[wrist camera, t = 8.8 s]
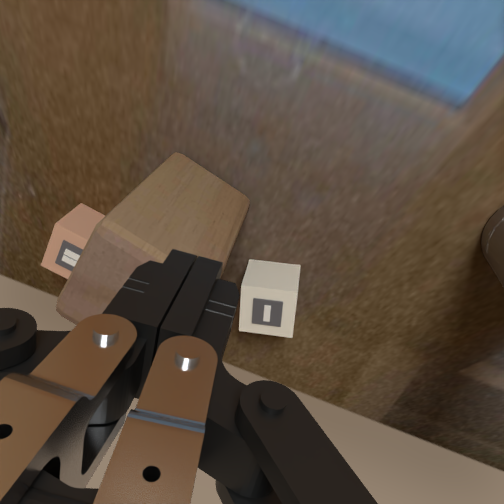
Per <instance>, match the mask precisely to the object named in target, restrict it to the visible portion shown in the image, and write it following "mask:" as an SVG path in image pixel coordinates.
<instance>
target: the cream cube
mask: <svg viewBox="0 0 504 504" xmlns="http://www.w3.org/2000/svg"><path fill="white" fill-rule="evenodd" d="M300 267H301V265H294V264H286V263H277V262H269V261H260V260H252V259H249V262H248V266H247V269H246V272H245V275H244V278H243V281H242V285H241V300H240V319H239V331H244V332H251V333H259V334H266V335H274V336H281V337H289V338H292V336H293V328H294V319H295V311H296V303H297V294H298V285H299V276H300Z"/></svg>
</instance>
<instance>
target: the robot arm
mask: <svg viewBox="0 0 504 504" xmlns="http://www.w3.org/2000/svg"><path fill="white" fill-rule="evenodd" d="M481 246H482V251H483V254H484V256H485V258H486V260H487V261H488V263H489V265H490V266H491V268H492V269H493V271H494V273H495V274H496V276H497V278H498V279H499V281H500V282H501V284H502V286H503V287H504V206H503V207H502V208H500V209H499V210H497V211H496V213H495V214H494V215H493V216H492V217H491V218H490V219H489V221H488V222H487V224H486V225H485V228H484V230H483V233H482V239H481ZM222 267H223V262H220V261H216V260H212V259H209V258H205V257H201V256H198V258H197V255H194V254H190V253H187V252H183V251H179V250H176V249H172V250H171V252H170V253H169V255H168V256H167V258H166V259H165V261H164V262H163V264H162V263H159V262H155V261H151V260H150V261H148V262H146V263H144V264H142V265H140V266H138V267H136V269H135V270H134V271H133V273H132V274H131V275H130V277H129V279H127V281H126V282H125V283H124V285H123V287H121V289H120V290H119V291H118V293H117V294H116V295H115V297H114V298H113V299H112V301H111V302H110V303H109V305H108V306H107V307H106V309H105V310H104V311H103V313H102V314H98V315H93V316H89V317H87V318H85V319H83V320H82V321H80V322H79V323H78V324H77V325H76V326H75V327H74V329H72V330H71V331H42V330H37V324H36V321H35V319H34V318H33V317H32V316H31V315H30V314H29V313H27V312H25V311H22V310H18V309H13V308H0V504H190V503H191V498H192V493H193V488H194V483H195V478H196V473H197V468H199V469H201V470H202V471H204V472H205V473H207V474H208V475H210V476H211V477H213V478H214V479H216V490H217V492H218V495H219V497H220V499H221V501H222V503H223V504H377V502H376V501H375V499H374V498H373V497H372V495H371V494H370V493H369V491H368V490H367V489H366V487H365V486H364V485H363V483H362V482H361V481H360V479H359V478H358V477H357V475H356V474H355V473H354V471H353V470H352V469H351V468H350V466H349V465H348V463H347V462H346V461H345V459H344V458H343V457H342V455H341V454H340V453H339V451H338V450H337V449H336V447H335V446H334V445H333V443H332V442H331V441H330V439H329V438H328V437H327V435H326V434H325V433H324V431H323V430H322V429H321V427H320V426H319V425H318V423H317V422H316V421H315V419H314V418H313V417H312V415H311V414H310V413H309V411H308V410H307V409H306V407H305V406H304V405H303V403H302V402H301V401H300V399H299V398H298V397H297V396H296V394H295V393H294V392H293V391H291V390H290V389H289V388H287V387H286V386H284V385H282V384H280V383H277V382H273V381H266V380H263V381H256V382H253V383H251V384H249V385H245V384H243V383H241V382H239V381H238V380H237V379H235V378H234V377H233V376H231V375H230V374H229V373H228V371H227V370H226V369H225V367H224V365H223V363H222V358H223V354H224V351H225V348H226V345H227V341H228V338H229V335H230V331H231V327H232V323H233V319H234V315H235V311H236V308H237V304H238V300H239V296H240V295H239V292H238V289H237V286H236V283H232V282H228V281H225V280H221V279H220V276H221V272H222ZM134 398H138V399H139V400H138V403H137V405H136V408H135V410H132V409H131V410H130V412H129V414H128V416H127V418H126V412H127V410H128V409H129V407H130V405H131V403H132V401H133V399H134ZM125 418H126V421H125ZM124 421H125V423H124ZM123 424H124V426H123ZM122 426H123V428H122V431H121V433H120V436H119V438H118V441H117V444H116V446H115V449H114V451H113V454H112V456H111V459H110V461H109V464H108V466H107V469H106V472H105V475H104V477H103V480H102V482H101V484H100V487H99V489H90V488H85V487H86V485H87V484H88V482H89V480H90V479H91V477H92V475H93V474H94V472H95V470H96V469H97V467H98V465H99V464H100V462H101V460H102V459H103V457H104V455H105V454H106V452H107V450H108V449H109V447H110V446H111V444H112V442H113V441H114V439H115V437H116V436H117V434H118V432H119V431H120V429H121V427H122Z"/></svg>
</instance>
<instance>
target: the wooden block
mask: <svg viewBox="0 0 504 504" xmlns="http://www.w3.org/2000/svg"><path fill="white" fill-rule="evenodd" d="M249 204H250V201H249V199H248V198H247V197H246V196H245V195H244V194H242V193H241V192H239V191H238V190H236V189H235V188H233V187H232V186H230V185H229V184H227V183H226V182H224V181H223V180H221V179H220V178H218V177H216V176H215V175H213V174H212V173H210V172H209V171H207V170H206V169H204V168H203V167H201V166H200V165H198V164H197V163H195V162H194V161H192V160H191V159H189V158H188V157H186V156H185V155H183V154H180V153H176V152H175V153H174V154H172V155H171V156H170V157H168V158H167V159H166V160H165V161H164V162H163V163H162V164H161V165H160V166H159V167H158V168H157V169H156V170H154V171H153V172H152V173H151V174H150V175H149V176H148V177H147V178H146V179H145V180H144V181H143V182H142V183H140V184H139V185H138V186H137V187H136V188H135V189H134V190H133V191H132V192H131V193H130V194H129V195H128V196H126V197H125V198H124V199H123V200H122V201H121V202H120V203H119V204H118V205H117V206H116V207H115V208H114V209H113V210H111V211H110V212H109V213H108V214H107V215H106V216H105V217H104V218H103V219H102V220H101V221H100V222H99V223H97V224H96V226H95V228H94V230H93V232H92V234H91V236H90V238H89V240H88V241H87V243H86V245H85V247H84V249H83V251H82V253H81V255H80V257H79V259H78V261H77V263H76V265H75V266H74V268H73V270H72V272H71V274H70V276H69V278H68V280H67V282H66V284H65V286H64V288H63V289H62V291H61V293H60V295H59V297H58V300H57V307H56V310H57V312H58V313H59V314H60V315H61V316H62V317H64V318H66V319H67V320H69V321H71V322H73V323H74V324H76V325H77V324H78V323H79V322H80V321H82V320H83V319H85V318H87V317H89V316H93V315H98V314H102V313H103V311H104V310H105V309H106V307H107V306H108V305H109V303H110V302H111V301H112V299H113V298H114V297H115V295H116V294H117V293H118V291H119V290H120V289H121V287H123V285H124V283H125V282H126V281H127V279H129V277H130V275H131V274H132V273H133V271H134V270H135V269H136V267H138V266H140V265H142V264H144V263H146V262H148V261H150V260H151V261H155V262H159V263H162V264H163V262H164V261H165V259H166V258H167V256H168V255H169V253H170V252H171V250H172V249H176V250H179V251H183V252H187V253H190V254H194V255H197V258H198V256H201V257H205V258H209V259H212V260H216V261H220V262H223V267H222V272H221V276H222V274H223V271H224V269H225V266H226V264H227V261H228V259H229V256H230V254H231V251H232V249H233V246H234V244H235V241H236V239H237V236H238V234H239V231H240V229H241V226H242V224H243V221H244V219H245V216H246V214H247V211H248V209H249ZM221 276H220V279H221Z"/></svg>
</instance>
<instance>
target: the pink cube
mask: <svg viewBox="0 0 504 504" xmlns="http://www.w3.org/2000/svg"><path fill="white" fill-rule="evenodd" d="M104 217H105V215H103V214H101V213H99V212H97V211H95V210H93V209H91V208H90V207H88V206H86V205H84V204H82V203H81V204H79V205H78V206H77V207H76V208H74V209H73V210H72V211H70V212H69V213H68V214H67V215H65V216H64V217H63V218H62V219H60V220H59V221H58V222H57V223H55V226H54V229H53V232H52V235H51V238H50V241H49V244H48V246H47V249H46V252H45V255H44V258H43V261H42V264H41V266H43V267H45V268H47V269H49V270H51V271H53V272H55V273H57V274H59V275H61V276H62V277H64V278H66V279H68V278H69V276H70V274H71V272H72V270H73V268H74V266H75V265H76V263H77V261H78V259H79V257H80V255H81V253H82V251H83V249H84V247H85V245H86V243H87V241H88V240H89V238H90V236H91V234H92V232H93V230H94V228H95V226H96V224H97V223H99V222H100V221H101V220H102V219H103V218H104Z"/></svg>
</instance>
